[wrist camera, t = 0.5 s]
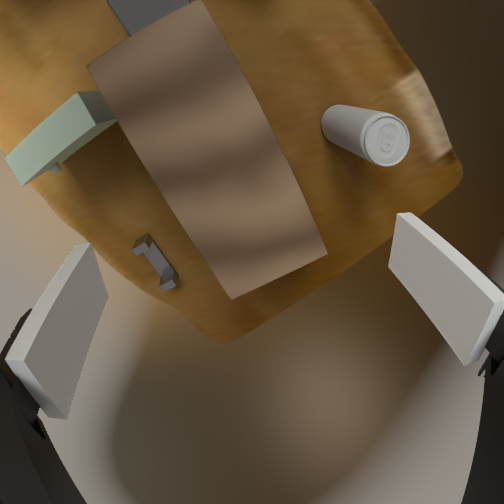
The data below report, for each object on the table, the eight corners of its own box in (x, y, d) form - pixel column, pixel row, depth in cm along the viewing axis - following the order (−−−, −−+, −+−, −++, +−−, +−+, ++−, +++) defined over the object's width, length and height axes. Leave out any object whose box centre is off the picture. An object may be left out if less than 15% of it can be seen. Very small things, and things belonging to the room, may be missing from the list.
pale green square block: (49, 139, 31) (4, 158, 22) (112, 90, 30) (77, 92, 21) (66, 168, 33) (26, 194, 24) (130, 121, 32) (101, 133, 23)
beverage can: (360, 110, 34) (416, 122, 23) (351, 147, 36) (403, 173, 25) (323, 99, 33) (370, 106, 22) (315, 138, 35) (357, 161, 24)
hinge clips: (136, 240, 39) (131, 249, 36) (203, 202, 37) (203, 210, 35) (165, 281, 42) (163, 291, 40) (231, 248, 41) (232, 258, 38)
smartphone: (161, -38, 22) (228, 55, 29) (162, -35, 23) (227, 56, 30) (103, -2, 23) (167, 92, 30) (106, 0, 24) (168, 92, 31)
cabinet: (133, 74, 29) (85, 66, 17) (206, 34, 28) (200, -2, 16) (225, 231, 39) (231, 299, 27) (291, 198, 38) (327, 253, 26)
